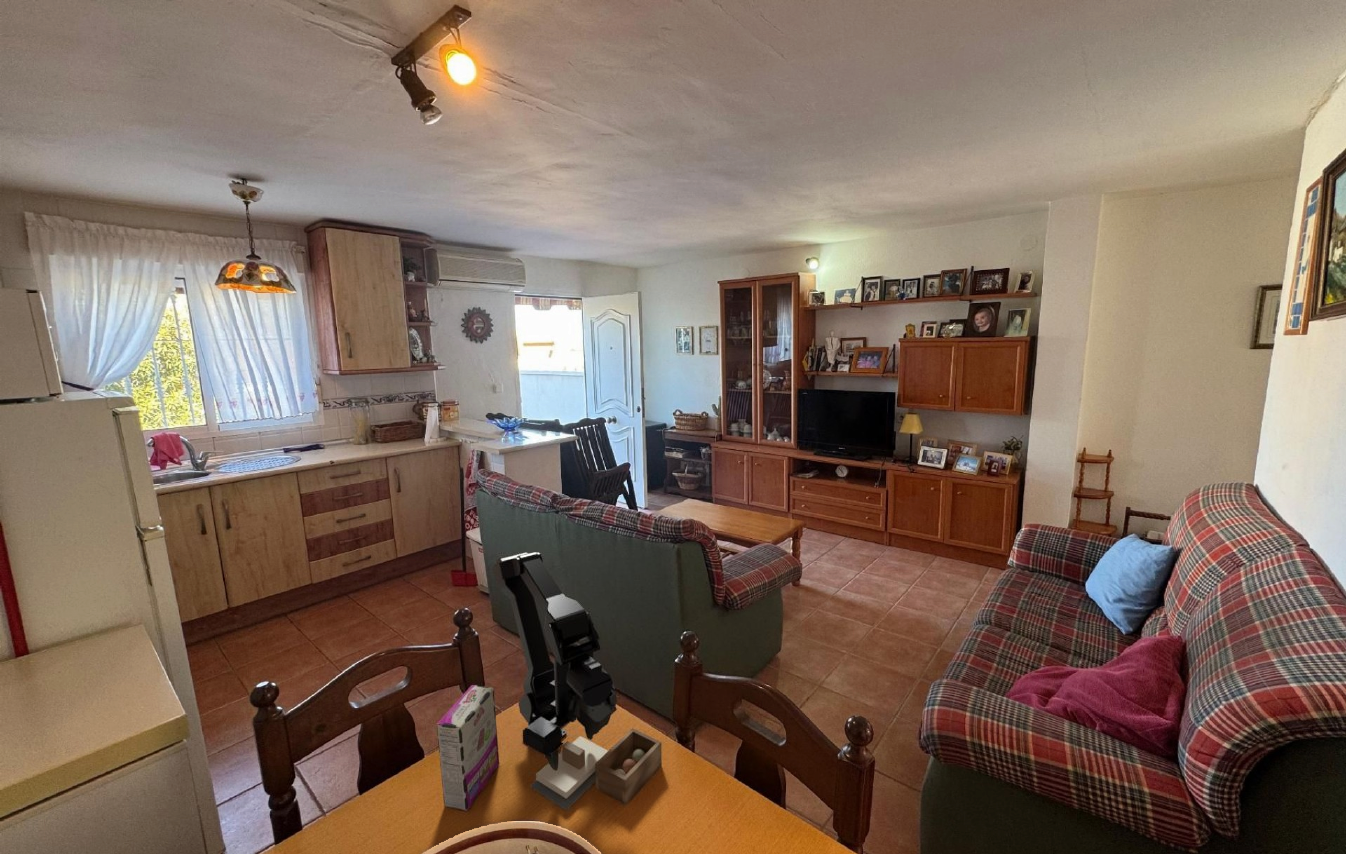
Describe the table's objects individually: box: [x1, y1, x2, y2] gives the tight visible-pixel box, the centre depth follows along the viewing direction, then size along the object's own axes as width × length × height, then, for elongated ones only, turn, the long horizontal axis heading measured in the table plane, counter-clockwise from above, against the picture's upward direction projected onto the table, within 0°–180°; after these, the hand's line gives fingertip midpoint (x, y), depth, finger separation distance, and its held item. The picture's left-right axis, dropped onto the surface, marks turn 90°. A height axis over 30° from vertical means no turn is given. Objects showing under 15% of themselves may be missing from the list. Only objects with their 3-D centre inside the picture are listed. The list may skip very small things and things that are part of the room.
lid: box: [535, 736, 609, 799], centre depth 101 cm, size 12×8×5 cm, turn 146°
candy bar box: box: [436, 684, 500, 812], centre depth 98 cm, size 11×5×16 cm, turn 168°
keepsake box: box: [595, 727, 663, 806], centre depth 101 cm, size 11×7×5 cm, turn 146°
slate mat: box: [530, 772, 596, 812], centre depth 101 cm, size 9×13×1 cm
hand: (572, 753), depth 101 cm, fingers open, 9 cm apart
